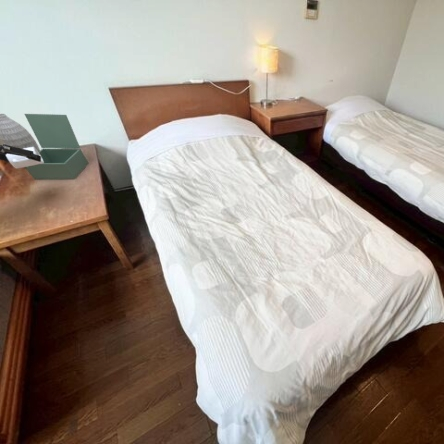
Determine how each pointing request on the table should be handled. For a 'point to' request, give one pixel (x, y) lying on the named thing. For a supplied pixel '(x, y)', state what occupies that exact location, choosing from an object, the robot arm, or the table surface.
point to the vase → (15, 134)
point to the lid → (52, 130)
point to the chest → (58, 164)
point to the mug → (23, 159)
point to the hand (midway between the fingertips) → (24, 158)
